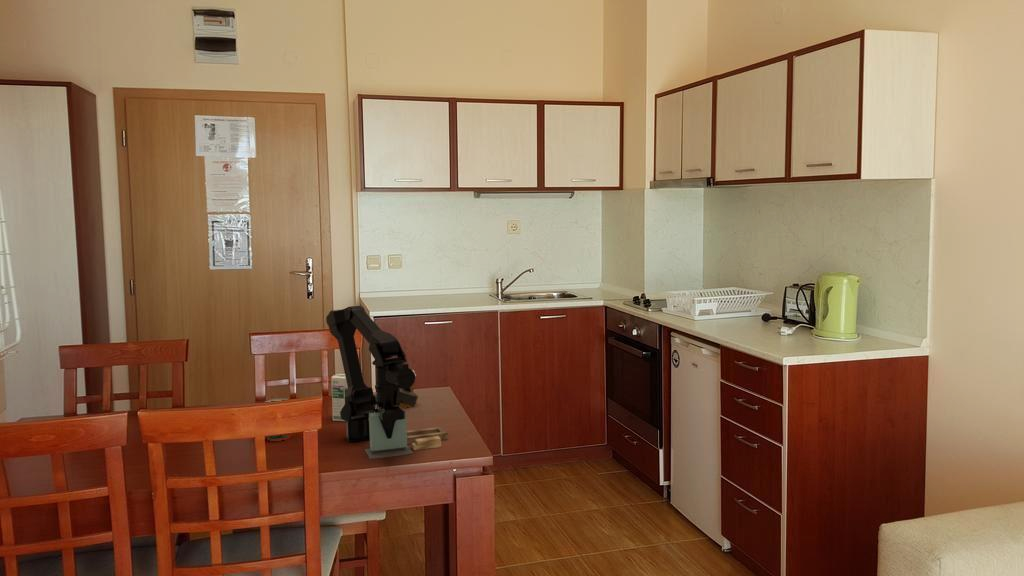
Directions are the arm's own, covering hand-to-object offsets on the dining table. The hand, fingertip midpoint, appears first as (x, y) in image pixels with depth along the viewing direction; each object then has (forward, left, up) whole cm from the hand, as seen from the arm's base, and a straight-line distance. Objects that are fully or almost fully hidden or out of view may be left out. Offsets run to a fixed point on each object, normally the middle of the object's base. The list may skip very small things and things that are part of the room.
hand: (388, 436), depth 216 cm
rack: (+11, +8, -4) cm, 14 cm away
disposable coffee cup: (+14, +46, -5) cm, 48 cm away
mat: (0, 0, -4) cm, 5 cm away
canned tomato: (-28, +26, -5) cm, 38 cm away
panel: (0, 0, -3) cm, 3 cm away
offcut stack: (+11, 0, -4) cm, 12 cm away
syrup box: (-7, +38, -5) cm, 39 cm away
